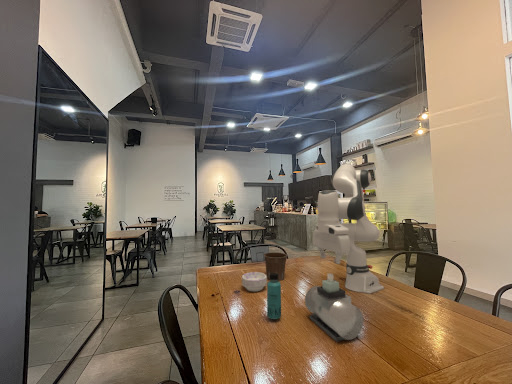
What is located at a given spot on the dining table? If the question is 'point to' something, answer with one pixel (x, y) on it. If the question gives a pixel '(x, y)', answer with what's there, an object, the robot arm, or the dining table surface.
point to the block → (330, 284)
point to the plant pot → (275, 264)
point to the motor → (334, 313)
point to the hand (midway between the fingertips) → (329, 260)
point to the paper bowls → (254, 281)
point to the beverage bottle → (274, 297)
